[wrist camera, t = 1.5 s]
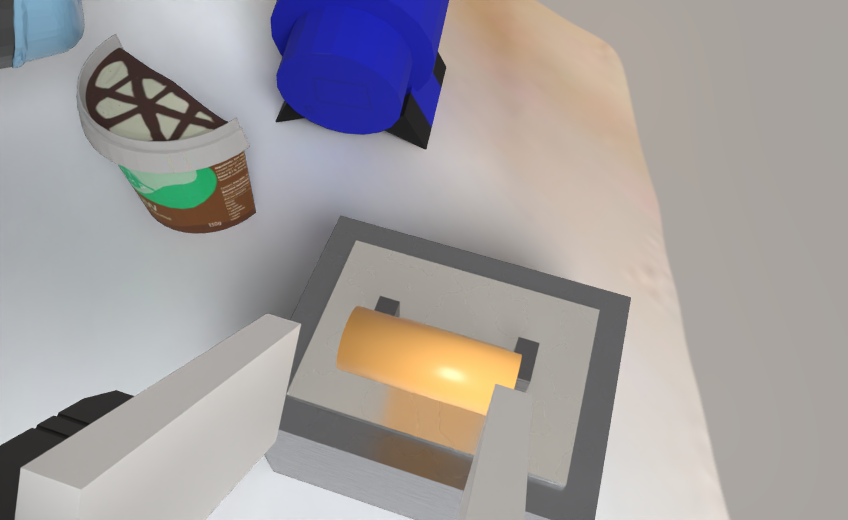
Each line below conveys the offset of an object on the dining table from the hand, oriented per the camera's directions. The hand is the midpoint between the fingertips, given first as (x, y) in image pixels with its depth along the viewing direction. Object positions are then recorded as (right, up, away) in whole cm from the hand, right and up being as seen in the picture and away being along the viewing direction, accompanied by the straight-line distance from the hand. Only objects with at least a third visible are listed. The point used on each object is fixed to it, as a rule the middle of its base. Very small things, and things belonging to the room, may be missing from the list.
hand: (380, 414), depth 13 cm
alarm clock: (-4, +16, +40) cm, 44 cm away
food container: (-17, +7, +34) cm, 39 cm away
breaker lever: (+2, -1, +18) cm, 18 cm away
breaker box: (+2, -6, +26) cm, 27 cm away
